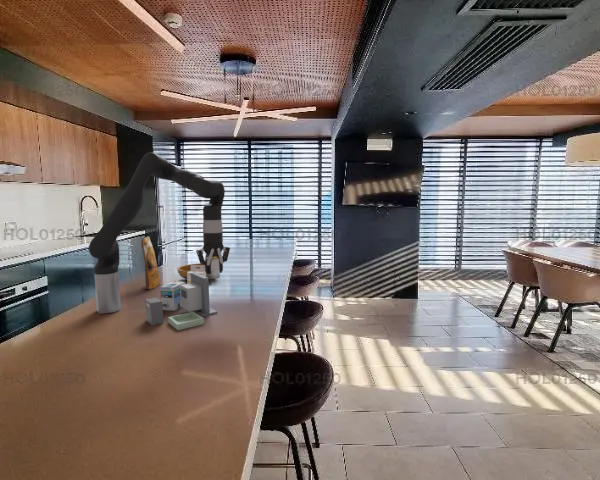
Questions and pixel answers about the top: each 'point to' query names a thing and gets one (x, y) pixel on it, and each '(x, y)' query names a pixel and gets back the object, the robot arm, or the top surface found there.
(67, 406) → the top surface
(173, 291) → the light bulb box
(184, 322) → the parts tray
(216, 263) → the cylinder
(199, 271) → the ink cartridge box
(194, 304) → the wall unit
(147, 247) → the pancake mix bag
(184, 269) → the tan wooden bowl
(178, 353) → the top surface
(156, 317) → the grey block
